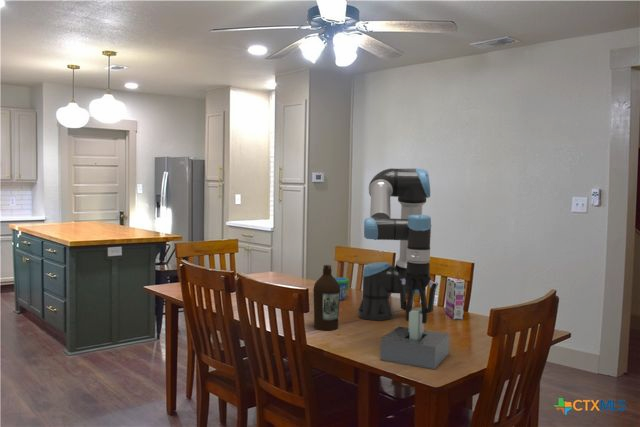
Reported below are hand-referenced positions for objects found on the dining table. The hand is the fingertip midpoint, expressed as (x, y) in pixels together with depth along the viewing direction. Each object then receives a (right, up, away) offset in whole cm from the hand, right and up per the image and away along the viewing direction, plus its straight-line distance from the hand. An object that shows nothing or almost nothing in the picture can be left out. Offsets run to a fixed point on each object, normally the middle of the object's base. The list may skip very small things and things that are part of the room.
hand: (416, 331), depth 180 cm
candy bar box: (+27, -6, +57) cm, 64 cm away
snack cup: (-23, -3, +89) cm, 92 cm away
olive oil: (-30, -6, +35) cm, 46 cm away
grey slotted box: (0, -9, +1) cm, 9 cm away
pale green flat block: (0, -5, 0) cm, 5 cm away
